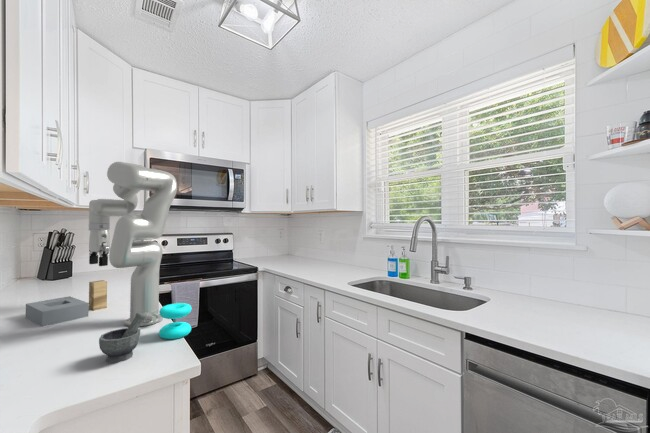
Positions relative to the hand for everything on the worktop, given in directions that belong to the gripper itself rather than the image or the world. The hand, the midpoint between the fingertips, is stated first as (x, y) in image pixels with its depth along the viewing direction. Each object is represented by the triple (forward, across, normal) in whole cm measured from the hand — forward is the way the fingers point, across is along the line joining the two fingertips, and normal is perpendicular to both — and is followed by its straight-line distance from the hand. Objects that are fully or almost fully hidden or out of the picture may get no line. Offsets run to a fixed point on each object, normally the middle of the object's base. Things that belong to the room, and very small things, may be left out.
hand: (98, 264), depth 131 cm
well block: (+20, 0, +14) cm, 24 cm away
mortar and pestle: (+19, -62, +17) cm, 67 cm away
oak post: (+20, 0, 0) cm, 20 cm away
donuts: (+19, -59, -1) cm, 62 cm away
